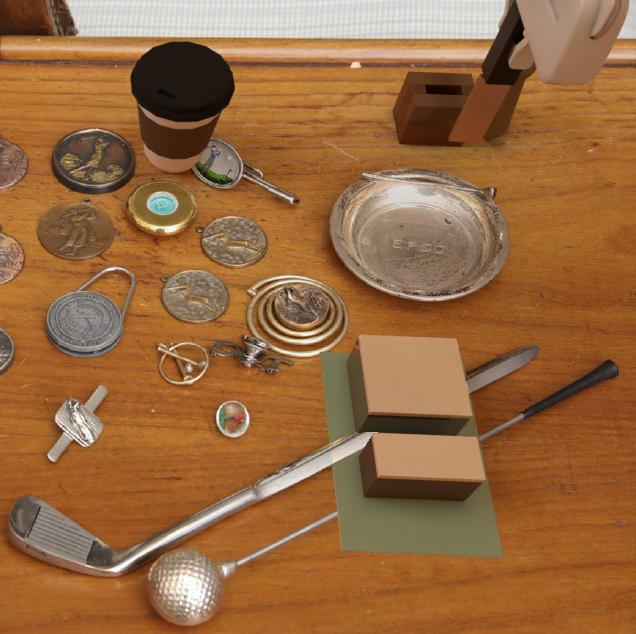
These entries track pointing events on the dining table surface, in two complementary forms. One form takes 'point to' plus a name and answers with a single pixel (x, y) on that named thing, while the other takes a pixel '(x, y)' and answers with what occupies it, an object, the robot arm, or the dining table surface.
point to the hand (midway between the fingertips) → (512, 48)
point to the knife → (490, 83)
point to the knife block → (430, 106)
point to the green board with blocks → (404, 418)
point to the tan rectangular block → (421, 467)
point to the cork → (508, 106)
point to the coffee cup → (180, 101)
